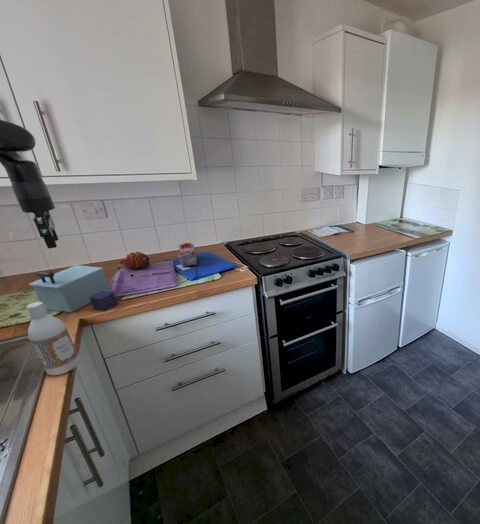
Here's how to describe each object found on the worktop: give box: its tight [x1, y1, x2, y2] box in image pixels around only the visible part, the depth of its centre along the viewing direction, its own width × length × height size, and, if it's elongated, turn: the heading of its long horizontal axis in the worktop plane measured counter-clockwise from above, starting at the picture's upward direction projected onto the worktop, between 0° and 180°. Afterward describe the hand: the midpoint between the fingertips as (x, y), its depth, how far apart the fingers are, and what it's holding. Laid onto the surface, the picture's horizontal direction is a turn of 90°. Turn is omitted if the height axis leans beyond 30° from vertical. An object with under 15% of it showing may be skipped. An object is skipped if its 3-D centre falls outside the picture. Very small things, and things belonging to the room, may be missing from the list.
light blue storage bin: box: [32, 269, 112, 313], centre depth 113 cm, size 16×13×10 cm
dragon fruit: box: [119, 251, 150, 271], centre depth 141 cm, size 8×8×12 cm
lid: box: [28, 264, 104, 289], centre depth 110 cm, size 16×13×5 cm
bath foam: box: [26, 301, 81, 376], centre depth 78 cm, size 7×7×20 cm
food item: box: [177, 242, 198, 267], centre depth 146 cm, size 14×8×10 cm, turn 31°
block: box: [89, 291, 119, 312], centre depth 110 cm, size 5×5×5 cm
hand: (53, 244), depth 100 cm, fingers open, 8 cm apart
